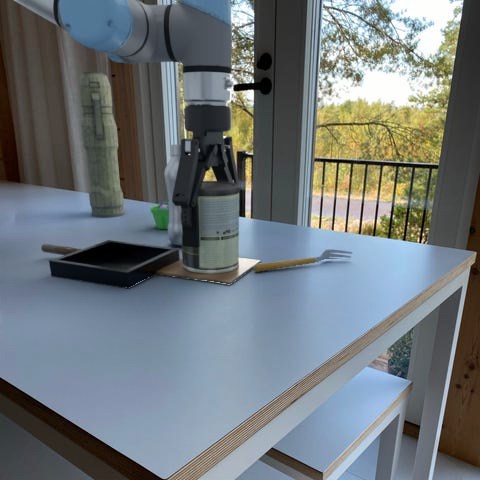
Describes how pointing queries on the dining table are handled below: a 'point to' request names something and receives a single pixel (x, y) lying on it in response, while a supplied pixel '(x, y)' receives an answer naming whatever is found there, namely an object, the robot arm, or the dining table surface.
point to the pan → (110, 262)
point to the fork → (300, 260)
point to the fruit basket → (161, 215)
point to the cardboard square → (227, 277)
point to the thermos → (100, 145)
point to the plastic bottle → (174, 210)
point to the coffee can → (215, 230)
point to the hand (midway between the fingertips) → (210, 237)
